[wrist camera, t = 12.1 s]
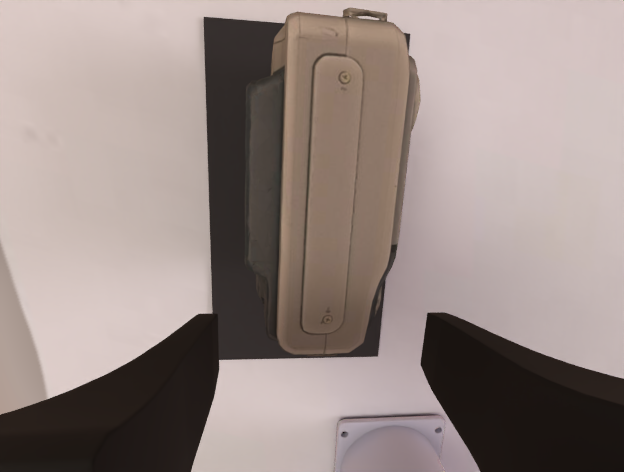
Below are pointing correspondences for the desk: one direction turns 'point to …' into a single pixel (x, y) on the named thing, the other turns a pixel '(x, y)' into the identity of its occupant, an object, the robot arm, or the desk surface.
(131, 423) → the robot arm
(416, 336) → the desk surface
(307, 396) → the desk surface
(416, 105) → the camera
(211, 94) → the desk pad
